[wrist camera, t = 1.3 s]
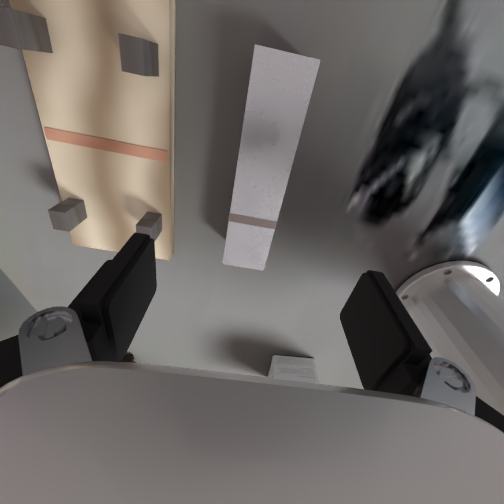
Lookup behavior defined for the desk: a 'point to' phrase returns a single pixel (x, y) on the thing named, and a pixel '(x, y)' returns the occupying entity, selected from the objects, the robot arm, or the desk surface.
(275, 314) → the desk surface
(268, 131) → the light grey long block
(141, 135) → the board
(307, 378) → the supplement box
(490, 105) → the desk surface
